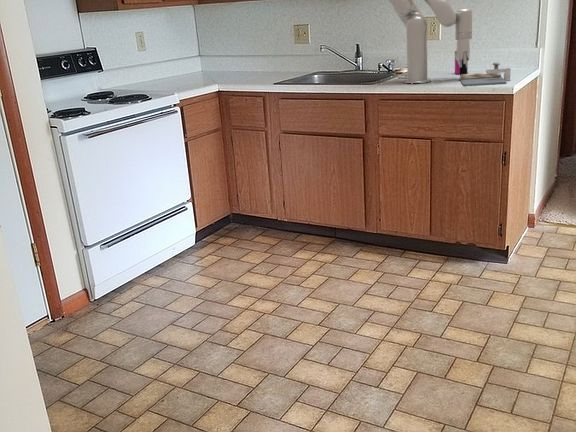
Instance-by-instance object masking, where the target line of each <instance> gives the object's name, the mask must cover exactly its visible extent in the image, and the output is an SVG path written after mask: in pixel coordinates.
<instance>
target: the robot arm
mask: <svg viewBox="0 0 576 432" xmlns="http://www.w3.org/2000/svg"><path fill="white" fill-rule="evenodd" d="M388 1H389V3H390V5H392V7H393V10H394V12H395V13H396V14H397V16H398V18H399V19H400V21H401V22H402V24H403V25H404V26H405V28H406V64H407V66H406V67H407V68H406V70H407V72H406V73H405V74H398V75H397V79H398V80H403V79H404V84H407V83H411V84H410V85H412V84H413V83H420V84H427V83H430V82H431V81H432V80H431V78H429V77H428V21H427V19H426V17H425V16H424V15H423V13H422V12H421V10H420V9H419V8H418V6H417V4H416V2H415V1H414V0H388ZM423 1H424V2H425V4H427V5H428V6H429V7H430V9H431V10H432V11H433V13H434V15H435V16H436V18H437V20H438V22H439V24H440V25H442V27H446V28H450V27H452V26H454V27H455V32H454V33H455V35H454V36H455V38H454V39H455V41H456V51H457V54H456V60H457V61H459V62H460V74H467V61H468V62H469V61H470V54H471V53H470V51H471V50H470V44H471V43H470V40H472V39H473V10H472V9H471V8H469V7H467V8H458V9H453V8H452V6H451V5H450V3H449V2H448V0H423ZM460 74H459V75H460ZM426 82H427V83H426ZM413 85H414V84H413Z"/></svg>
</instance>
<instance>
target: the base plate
mask: <svg viewBox="0 0 576 432" xmlns="http://www.w3.org/2000/svg"><path fill="white" fill-rule="evenodd" d="M459 80H460V84H462V86H463V87H472V86H473V87H474V86H489V85H491V86H493V85H507V81H505V80H504V77H502V76H501V77H487V78H470V79H461V78H460V77H459Z"/></svg>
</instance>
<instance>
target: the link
mask: <svg viewBox="0 0 576 432" xmlns="http://www.w3.org/2000/svg"><path fill="white" fill-rule="evenodd" d="M500 65H501V62H492V66H493V69H499V66H500ZM459 76H460V77H459V79H460V78H461V79H470V78H487V77H502V73H486V72H478V73H468V74H459Z"/></svg>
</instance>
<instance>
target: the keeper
mask: <svg viewBox="0 0 576 432" xmlns="http://www.w3.org/2000/svg"><path fill="white" fill-rule="evenodd" d="M485 73H501V74H502V73H503V79H504V80H505V81H506V82H510V81H511V68H509V67H507V68H498V69H494V68H492V69H491V68H490V69H489V68H488V69H486V71H485Z"/></svg>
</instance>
